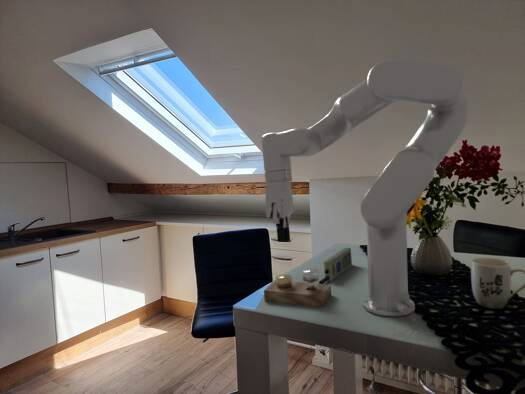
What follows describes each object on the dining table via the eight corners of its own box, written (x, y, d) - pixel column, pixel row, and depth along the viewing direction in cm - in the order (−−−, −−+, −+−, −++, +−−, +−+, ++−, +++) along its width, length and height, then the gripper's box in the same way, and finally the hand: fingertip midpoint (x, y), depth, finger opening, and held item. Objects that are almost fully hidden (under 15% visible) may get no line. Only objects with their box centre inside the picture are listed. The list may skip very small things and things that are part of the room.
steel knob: (321, 291, 101) (320, 271, 101) (306, 293, 100) (305, 273, 100) (315, 286, 106) (314, 267, 105) (301, 288, 105) (300, 269, 104)
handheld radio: (353, 265, 133) (326, 287, 112) (344, 265, 135) (316, 286, 114) (352, 247, 132) (324, 266, 112) (343, 247, 134) (314, 265, 113)
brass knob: (294, 296, 105) (293, 277, 104) (279, 298, 104) (278, 280, 103) (289, 291, 109) (288, 273, 109) (275, 293, 108) (274, 275, 108)
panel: (331, 294, 105) (330, 284, 105) (323, 307, 97) (322, 296, 97) (276, 289, 112) (275, 280, 112) (264, 300, 104) (263, 290, 104)
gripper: (276, 176, 111) (281, 235, 113) (255, 179, 98) (261, 247, 99) (299, 174, 108) (304, 235, 110) (281, 177, 95) (287, 247, 96)
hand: (284, 241), depth 105 cm, fingers closed
